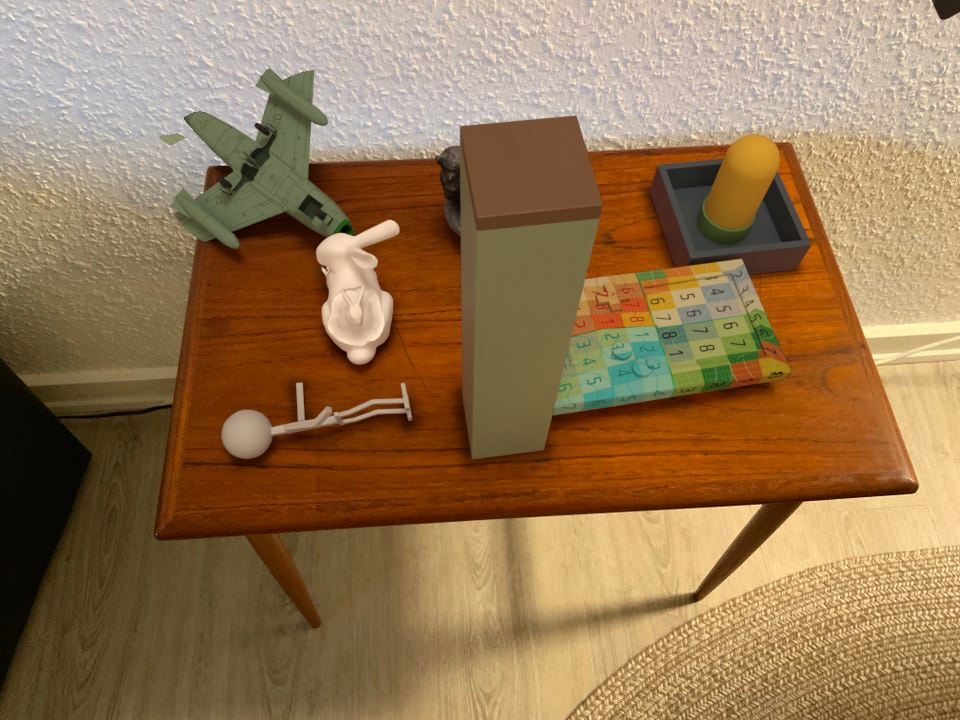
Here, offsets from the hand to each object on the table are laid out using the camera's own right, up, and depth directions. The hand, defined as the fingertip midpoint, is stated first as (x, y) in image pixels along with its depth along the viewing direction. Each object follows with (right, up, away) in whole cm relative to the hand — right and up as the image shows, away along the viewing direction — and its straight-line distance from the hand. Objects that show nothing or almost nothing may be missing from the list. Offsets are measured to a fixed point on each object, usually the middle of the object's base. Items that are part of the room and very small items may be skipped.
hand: (951, 47), depth 54 cm
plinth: (-33, -28, +8) cm, 44 cm away
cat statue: (-33, -10, +18) cm, 39 cm away
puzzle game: (-20, -22, +12) cm, 32 cm away
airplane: (-59, -1, +14) cm, 60 cm away
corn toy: (-11, -10, +18) cm, 23 cm away
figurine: (-40, -25, +6) cm, 48 cm away
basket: (-11, -10, +19) cm, 24 cm away
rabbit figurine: (-45, -19, +13) cm, 50 cm away
